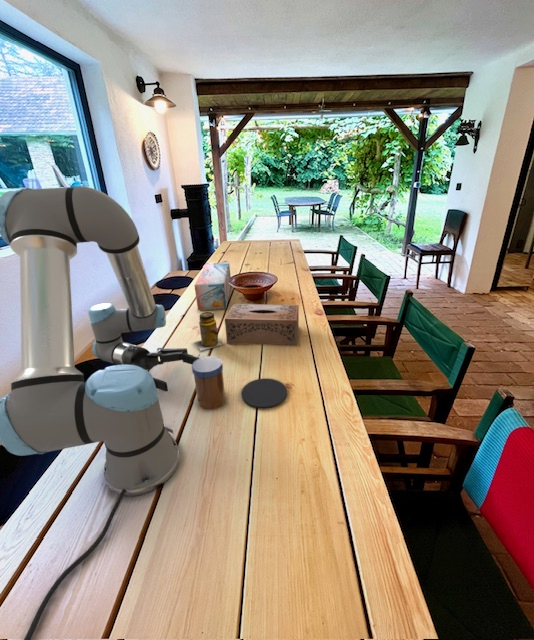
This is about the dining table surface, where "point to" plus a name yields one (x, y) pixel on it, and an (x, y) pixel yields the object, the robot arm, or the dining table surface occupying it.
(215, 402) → the jar
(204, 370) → the lid
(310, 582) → the dining table surface
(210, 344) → the condiment
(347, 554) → the dining table surface
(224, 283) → the soda box
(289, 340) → the tissue box cover
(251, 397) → the coaster
